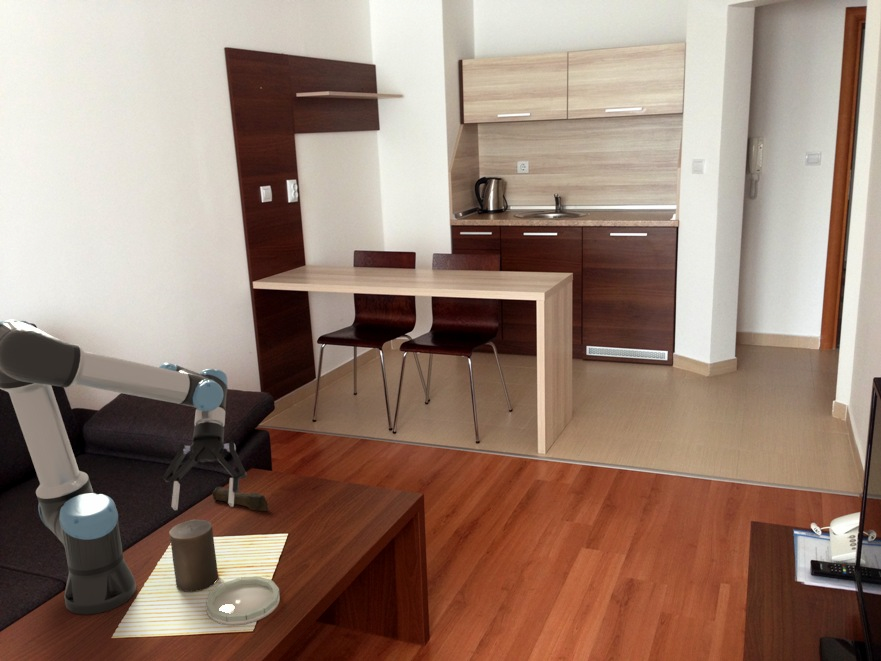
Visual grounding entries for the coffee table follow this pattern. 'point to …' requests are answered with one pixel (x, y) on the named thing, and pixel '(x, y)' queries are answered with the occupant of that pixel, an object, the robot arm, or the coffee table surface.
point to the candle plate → (243, 600)
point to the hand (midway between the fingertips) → (202, 506)
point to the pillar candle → (193, 555)
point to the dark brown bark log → (242, 499)
